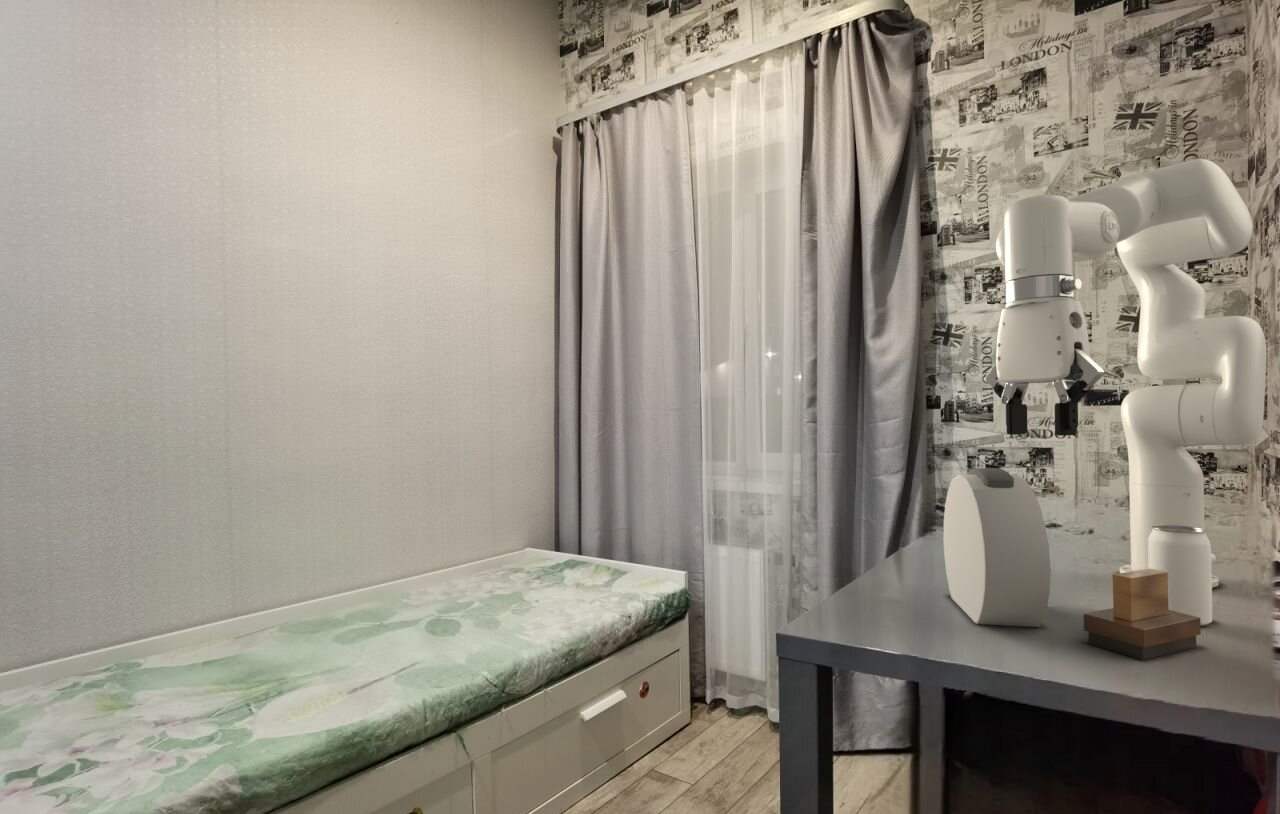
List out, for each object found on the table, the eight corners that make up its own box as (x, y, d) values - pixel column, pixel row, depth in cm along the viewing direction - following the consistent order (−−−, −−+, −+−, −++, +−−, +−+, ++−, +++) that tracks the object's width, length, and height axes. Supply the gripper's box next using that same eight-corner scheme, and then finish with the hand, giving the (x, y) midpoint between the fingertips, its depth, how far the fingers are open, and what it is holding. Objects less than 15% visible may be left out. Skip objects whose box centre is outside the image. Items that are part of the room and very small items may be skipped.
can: (1153, 608, 92) (1152, 522, 92) (1215, 618, 88) (1213, 527, 88) (1145, 619, 88) (1143, 528, 88) (1209, 630, 83) (1207, 534, 83)
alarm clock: (1052, 637, 81) (1049, 475, 81) (986, 634, 83) (983, 475, 83) (995, 591, 102) (993, 462, 102) (943, 589, 103) (941, 462, 104)
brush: (1139, 630, 83) (1138, 563, 83) (1201, 647, 77) (1199, 574, 77) (1084, 642, 79) (1082, 571, 79) (1144, 661, 73) (1142, 584, 73)
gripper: (1128, 284, 79) (1130, 435, 79) (999, 307, 95) (1001, 432, 95) (1086, 280, 76) (1089, 437, 76) (961, 304, 92) (963, 433, 92)
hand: (1040, 433), depth 85 cm, fingers open, 6 cm apart
